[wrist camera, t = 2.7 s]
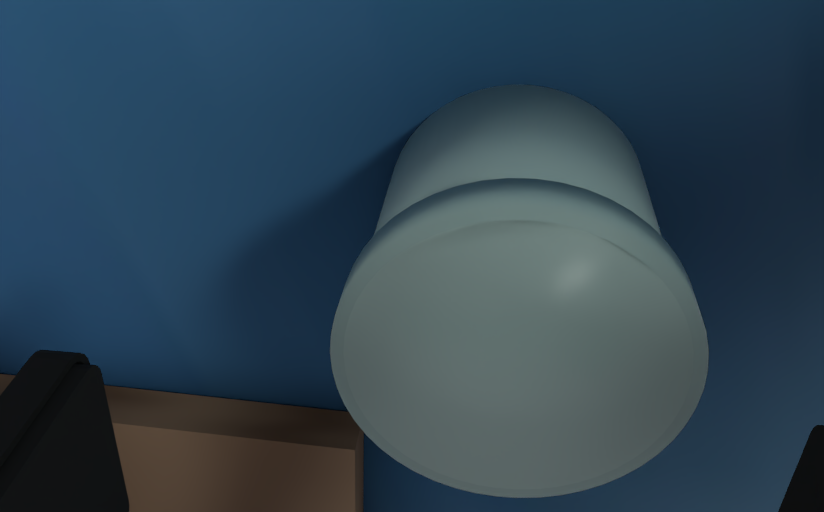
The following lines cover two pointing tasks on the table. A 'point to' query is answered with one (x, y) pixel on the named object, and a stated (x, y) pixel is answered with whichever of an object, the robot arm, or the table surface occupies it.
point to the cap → (519, 304)
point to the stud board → (233, 454)
